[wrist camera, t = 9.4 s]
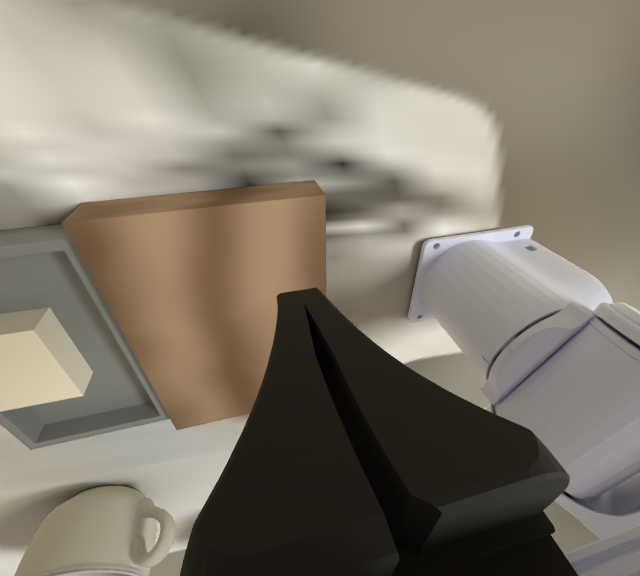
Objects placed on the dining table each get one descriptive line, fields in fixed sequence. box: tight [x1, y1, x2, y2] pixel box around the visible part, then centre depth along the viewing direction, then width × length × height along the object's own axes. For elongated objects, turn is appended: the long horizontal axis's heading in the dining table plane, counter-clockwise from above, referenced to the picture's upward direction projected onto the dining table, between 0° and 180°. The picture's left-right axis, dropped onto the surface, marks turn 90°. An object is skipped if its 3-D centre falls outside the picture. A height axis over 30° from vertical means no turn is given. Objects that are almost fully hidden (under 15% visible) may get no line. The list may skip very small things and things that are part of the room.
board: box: [62, 180, 326, 430], centre depth 22 cm, size 12×18×2 cm
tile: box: [0, 307, 93, 412], centre depth 19 cm, size 5×6×2 cm
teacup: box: [14, 486, 175, 576], centre depth 30 cm, size 14×11×8 cm
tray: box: [0, 224, 170, 450], centre depth 20 cm, size 10×16×2 cm, turn 1°
